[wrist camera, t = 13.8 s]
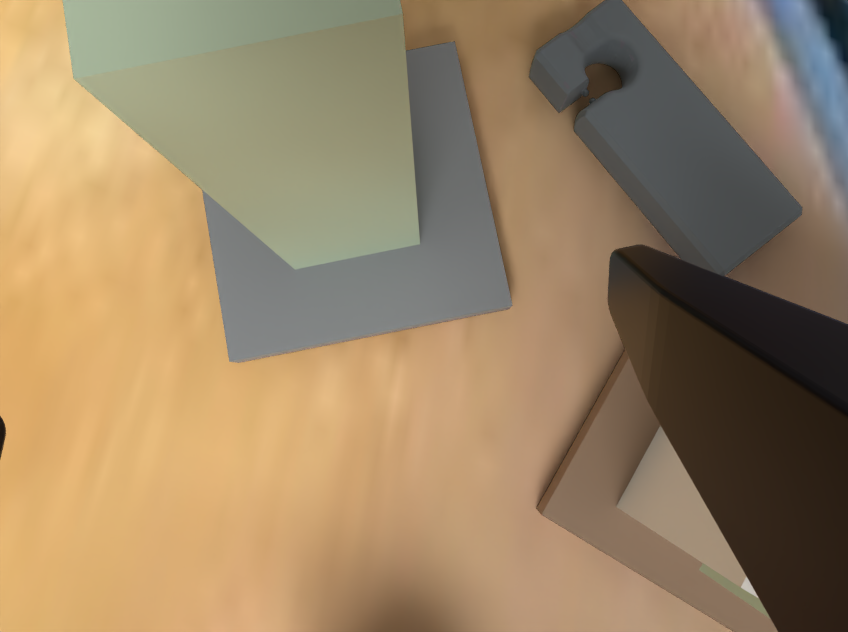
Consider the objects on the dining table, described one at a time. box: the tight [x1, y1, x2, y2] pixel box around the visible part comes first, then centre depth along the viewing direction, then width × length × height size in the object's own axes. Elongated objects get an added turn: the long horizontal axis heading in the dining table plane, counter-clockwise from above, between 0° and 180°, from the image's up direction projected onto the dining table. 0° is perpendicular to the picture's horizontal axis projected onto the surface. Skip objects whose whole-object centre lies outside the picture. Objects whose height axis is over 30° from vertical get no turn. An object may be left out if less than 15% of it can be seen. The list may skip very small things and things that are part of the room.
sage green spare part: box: [63, 0, 420, 269], centre depth 15 cm, size 4×4×13 cm
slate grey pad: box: [202, 41, 512, 363], centre depth 22 cm, size 10×10×1 cm
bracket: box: [529, 0, 802, 276], centre depth 22 cm, size 4×10×2 cm, turn 38°
